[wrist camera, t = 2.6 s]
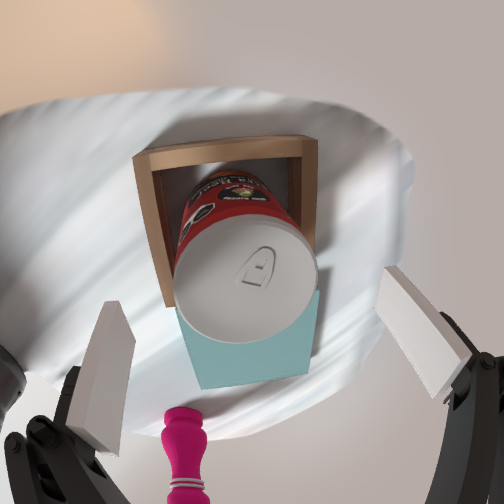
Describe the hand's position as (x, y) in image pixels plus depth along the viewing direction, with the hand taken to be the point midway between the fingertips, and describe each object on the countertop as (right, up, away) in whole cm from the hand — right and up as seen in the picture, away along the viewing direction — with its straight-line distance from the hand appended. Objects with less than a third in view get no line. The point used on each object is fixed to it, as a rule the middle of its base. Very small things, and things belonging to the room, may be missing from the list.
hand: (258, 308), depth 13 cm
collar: (-2, +6, +11) cm, 12 cm away
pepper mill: (-12, -24, +26) cm, 37 cm away
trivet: (-1, -7, +18) cm, 19 cm away
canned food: (-2, +6, +11) cm, 13 cm away
